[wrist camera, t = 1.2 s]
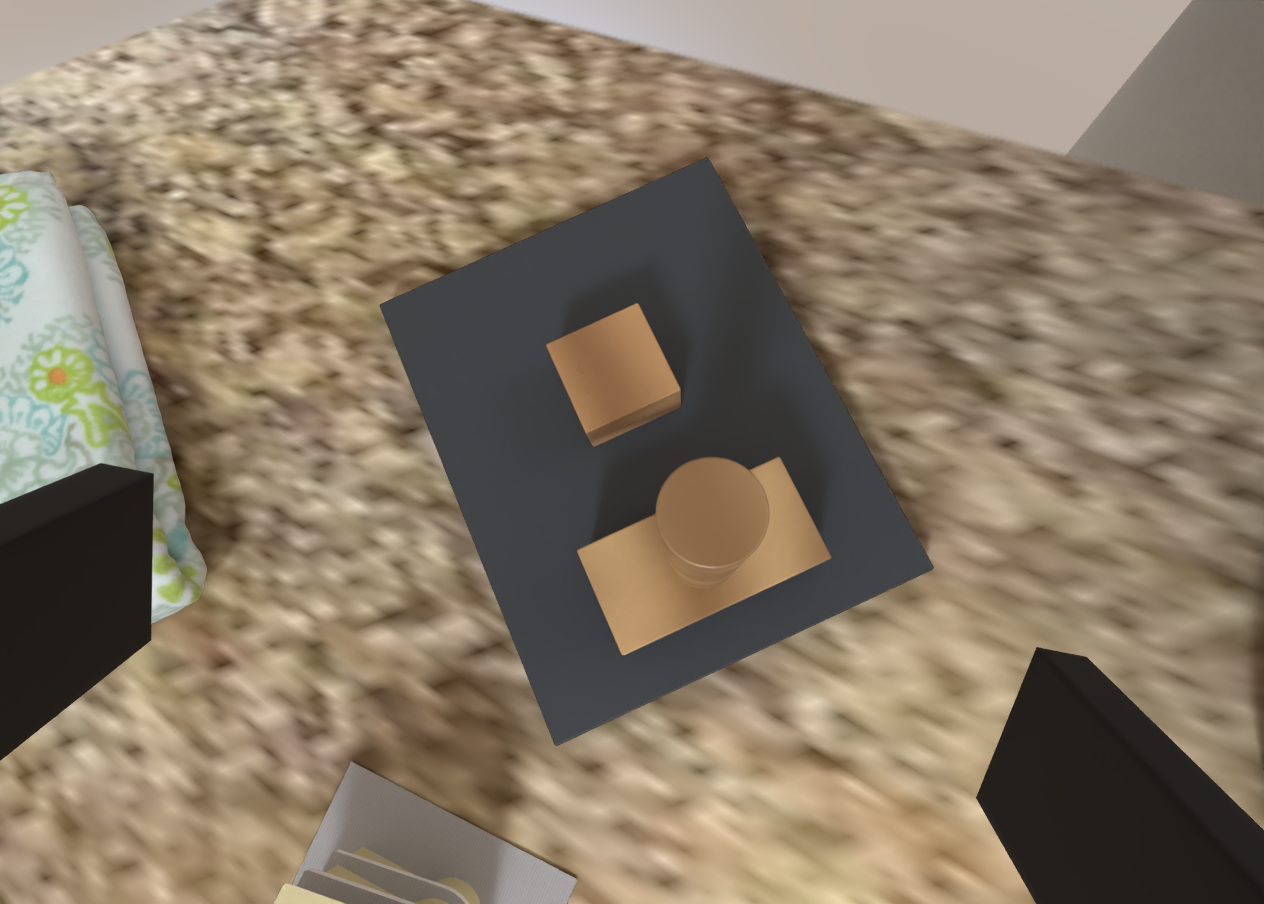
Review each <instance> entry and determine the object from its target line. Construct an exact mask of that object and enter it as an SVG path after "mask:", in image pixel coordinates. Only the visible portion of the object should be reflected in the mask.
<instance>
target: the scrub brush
mask: <svg viewBox="0 0 1264 904" xmlns="http://www.w3.org/2000/svg"><path fill="white" fill-rule="evenodd" d="M577 553H578V555H579V557H580V560H581V562H582V564H583V567H584V569H585V571H586V574H587V576H588V578H589V581H590V583H591V585H592V587H593V590H594V592H595V594H596V597H597V599H598V601H599V604H600V606H601V608H602V611H603V613H604V615H605V618H606V620H607V622H608V624H609V627H610V629H611V631H612V634H613V636H614V638H615V641H616V643H617V645H618V648H619V650H620V652H621V654H622V655H626V654H628V653H630V652H633V651H635V650H637V649H639V648H641V647H643V646H645V645H648V644H650V643H652V642H654V641H656V640H658V639H660V638H663V637H665V636H667V635H669V634H671V633H673V632H675V631H678V630H680V629H682V628H684V627H686V626H688V625H690V624H693V623H695V622H697V621H699V620H701V619H703V618H705V617H708V616H710V615H712V614H714V613H716V612H718V611H720V610H722V609H725V608H727V607H729V606H731V605H733V604H735V603H737V602H740V601H742V600H744V599H746V598H748V597H750V596H752V595H755V594H757V593H759V592H761V591H763V590H765V589H767V588H770V587H772V586H774V585H776V584H778V583H780V582H782V581H785V580H787V579H789V578H791V577H793V576H795V575H797V574H800V573H802V572H804V571H806V570H808V569H810V568H812V567H815V566H817V565H819V564H821V563H823V562H825V561H827V560H829V559H831V555H830V553H829V551H828V549H827V547H826V545H825V543H824V541H823V539H822V537H821V535H820V533H819V531H818V530H817V528H816V526H815V524H814V522H813V520H812V518H811V516H810V514H809V512H808V510H807V508H806V506H805V504H804V502H803V501H802V499H801V497H800V495H799V493H798V491H797V489H796V487H795V485H794V483H793V481H792V479H791V477H790V475H789V474H788V472H787V470H786V468H785V466H784V464H783V462H782V460H781V458H780V457H776V458H774V459H772V460H770V461H768V462H766V463H763V464H761V465H759V466H757V467H755V468H753V469H750V470H748V469H747V468H745V467H744V466H742V465H741V464H739V463H737V462H735V461H732V460H730V459H726V458H721V457H702V458H698V459H694V460H691V461H689V462H687V463H685V464H683V465H681V466H680V467H678V468H677V469H676V470H675V471H674V472H673V473H671V474H670V476H669V477H668V478H667V479H666V481H665V482H664V484H663V485H662V487H661V490H660V492H659V495H658V498H657V503H656V513H655V514H653V515H651V516H649V517H647V518H644V519H642V520H640V521H638V522H636V523H634V524H632V525H629V526H627V527H625V528H623V529H621V530H619V531H616V532H614V533H612V534H610V535H608V536H606V537H603V538H601V539H599V540H597V541H595V542H593V543H590V544H588V545H586V546H584V547H582V548H580V549H578V550H577Z"/></svg>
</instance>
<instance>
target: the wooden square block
mask: <svg viewBox="0 0 1264 904" xmlns="http://www.w3.org/2000/svg"><path fill="white" fill-rule="evenodd" d="M546 347H547V349H548V351H549V354H550V356H551V358H552V360H553V362H554V365H555V367H556V369H557V371H558V373H559V376H560V378H561V380H562V382H563V384H564V387H565V389H566V391H567V393H568V395H569V398H570V400H571V402H572V404H573V406H574V409H575V411H576V413H577V415H578V417H579V420H580V422H581V424H582V426H583V428H584V431H585V433H586V435H587V436H588V438H589V440H590V442H591V444H592V445H593V446H594V447H595V446H597V445H599V444H602V443H604V442H606V441H608V440H610V439H613V438H615V437H617V436H619V435H621V434H623V433H626V432H628V431H630V430H632V429H634V428H636V427H639V426H641V425H643V424H645V423H647V422H650V421H652V420H654V419H656V418H658V417H660V416H663V415H665V414H667V413H669V412H671V411H674V410H676V409H678V408H680V407H681V389H680V386H679V384H678V382H677V380H676V378H675V376H674V374H673V372H672V370H671V368H670V366H669V364H668V362H667V360H666V358H665V356H664V354H663V352H662V350H661V348H660V346H659V344H658V342H657V340H656V338H655V336H654V334H653V332H652V330H651V328H650V326H649V324H648V322H647V320H646V318H645V316H644V314H643V312H642V310H641V308H640V306H639V304H638V303H636V304H634V305H632V306H630V307H627V308H625V309H623V310H621V311H619V312H616V313H614V314H612V315H610V316H608V317H605V318H603V319H601V320H599V321H597V322H594V323H592V324H590V325H588V326H586V327H583V328H581V329H579V330H577V331H575V332H572V333H570V334H568V335H566V336H564V337H561V338H559V339H557V340H555V341H553V342H550V343H548V344H547V345H546Z"/></svg>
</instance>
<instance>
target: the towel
mask: <svg viewBox="0 0 1264 904" xmlns="http://www.w3.org/2000/svg"><path fill="white" fill-rule="evenodd" d="M99 463H103V464H109V465H114V466H119V467H124V468H129V469H134V470H139V471H144V472H149V473H154V497H153V558H152V618H151V624H152V623H154V622H157V621H159V620H161V619H163V618H165V617H168V616H170V615H172V614H174V613H176V612H177V611H179V610H181V609H183V608H184V607H186V606H188V605H190V604H192V603H194V602H195V601H197V600H198V599H199V598H200V596H201V594H202V592H203V590H204V586H205V577H206V573H207V567H206V564H205V562H204V560H203V557H202V554H201V552H200V551H199V550H198V549H197V547H196V546H195V544H194V543H193V542H192V539H191V536H190V532H189V530H188V529H187V528H186V525H185V502H184V496H183V493H182V489H181V484H180V481H179V478H178V476H177V473H176V469H175V465H174V462H173V457H172V454H171V448H170V445H169V442H168V440H167V435H166V433H165V429H164V425H163V420H162V417H161V413H160V410H159V407H158V403H157V400H156V395H155V392H154V388H153V384H152V381H151V378H150V375H149V371H148V368H147V364H146V361H145V358H144V355H143V351H142V347H141V343H140V340H139V337H138V334H137V330H136V326H135V323H134V320H133V317H132V313H131V308H130V305H129V302H128V298H127V295H126V289H125V285H124V282H123V278H122V275H121V272H120V270H119V268H118V265H117V262H116V258H115V255H114V252H113V249H112V246H111V244H110V242H109V240H108V237H107V235H106V233H105V231H104V230H103V228H102V227H101V226H100V225H99V224H98V222H97V219H96V217H95V216H94V214H93V213H92V212H91V211H90V210H89V209H88V208H87V207H84V206H82V205H76V206H71V207H68V206H67V202H66V199H65V197H64V195H63V193H62V191H61V190H60V188H59V187H57V186H56V180H55V177H54V175H53V174H52V173H51V172H47V171H46V172H36V171H32V170H24V171H19V172H13V173H6V174H1V175H0V504H1V503H4V502H6V501H9V500H11V499H14V498H16V497H18V496H21V495H23V494H26V493H28V492H31V491H33V490H36V489H38V488H41V487H43V486H45V485H48V484H50V483H53V482H55V481H58V480H60V479H63V478H65V477H68V476H70V475H72V474H75V473H77V472H80V471H82V470H85V469H87V468H90V467H92V466H95V465H97V464H99Z"/></svg>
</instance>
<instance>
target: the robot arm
mask: <svg viewBox="0 0 1264 904" xmlns="http://www.w3.org/2000/svg"><path fill="white" fill-rule="evenodd" d="M153 497H154V473H149V472H144V471H139V470H134V469H129V468H124V467H119V466H114V465H109V464H103V463H99V464H97V465H95V466H92V467H90V468H87V469H85V470H82V471H80V472H77V473H75V474H72V475H70V476H68V477H65V478H63V479H60V480H58V481H55V482H53V483H50V484H48V485H45V486H43V487H41V488H38V489H36V490H33V491H31V492H28V493H26V494H23V495H21V496H18V497H16V498H14V499H11V500H9V501H6V502H4V503H1V504H0V760H2V759H3V758H4V757H5V756H7V755H8V754H9V753H10V752H12V751H13V750H14V749H15V748H17V747H18V746H19V745H20V744H22V743H23V742H24V741H25V740H27V739H28V738H29V737H30V736H32V735H33V734H34V733H35V732H37V731H38V730H39V729H41V728H42V727H43V726H44V725H46V724H47V723H48V722H49V721H51V720H52V719H53V718H54V717H56V716H57V715H58V714H59V713H61V712H62V711H63V710H64V709H66V708H67V707H68V706H69V705H71V704H72V703H73V702H74V701H76V700H77V699H78V698H79V697H81V696H82V695H83V694H84V693H86V692H87V691H88V690H89V689H91V688H92V687H93V686H94V685H96V684H97V683H98V682H99V681H101V680H102V679H103V678H104V677H106V676H107V675H108V674H109V673H111V672H112V671H113V670H114V669H116V668H117V667H118V666H119V665H121V664H122V663H123V662H124V661H126V660H127V659H128V658H129V657H131V656H132V655H133V654H134V653H136V652H137V651H138V650H139V649H141V648H142V647H143V646H144V645H146V644H147V643H148V642H149V641H151V618H152V558H153ZM976 799H977V800H978V802H979V804H980V806H981V807H982V809H983V811H984V813H985V814H986V816H987V818H988V820H989V822H990V823H991V825H992V827H993V829H994V830H995V832H996V834H997V836H998V837H999V839H1000V841H1001V843H1002V844H1003V846H1004V848H1005V850H1006V851H1007V853H1008V855H1009V857H1010V858H1011V860H1012V862H1013V864H1014V865H1015V867H1016V869H1017V871H1018V872H1019V874H1020V876H1021V878H1022V879H1023V881H1024V883H1025V885H1026V887H1027V888H1028V890H1029V892H1030V894H1031V895H1032V897H1033V899H1034V901H1035V902H1036V904H1264V830H1263V829H1262V828H1261V827H1260V826H1259V825H1258V824H1257V823H1256V822H1255V821H1254V820H1253V819H1252V818H1251V817H1250V816H1249V815H1248V814H1247V813H1246V812H1244V811H1243V810H1242V809H1241V808H1240V807H1239V806H1238V805H1237V804H1236V803H1235V802H1234V801H1233V800H1232V799H1231V798H1230V797H1229V796H1228V795H1227V794H1226V793H1225V792H1224V791H1223V790H1222V789H1221V788H1220V787H1219V786H1218V785H1217V784H1216V783H1215V782H1214V781H1213V780H1212V779H1211V778H1210V777H1209V776H1208V775H1207V774H1206V773H1205V772H1204V771H1203V770H1202V769H1201V768H1200V767H1198V766H1197V765H1196V764H1195V763H1194V762H1193V761H1192V760H1191V759H1190V758H1189V757H1188V756H1187V755H1186V754H1185V753H1184V752H1183V751H1182V750H1181V749H1180V748H1179V747H1178V746H1177V745H1176V744H1175V743H1174V742H1173V741H1172V740H1171V739H1170V738H1169V737H1168V736H1167V735H1166V734H1165V733H1164V732H1163V731H1162V730H1161V729H1160V728H1159V727H1158V726H1157V725H1156V724H1155V723H1153V722H1152V721H1151V720H1150V719H1149V718H1148V717H1147V716H1146V715H1145V714H1144V713H1143V712H1142V711H1141V710H1140V709H1139V708H1138V707H1137V706H1136V705H1135V704H1134V703H1133V702H1132V701H1131V700H1130V699H1129V698H1128V697H1127V696H1126V695H1125V694H1124V693H1123V692H1122V691H1121V690H1120V689H1119V688H1118V687H1117V686H1116V685H1115V684H1114V683H1113V682H1112V681H1111V680H1110V679H1109V678H1107V677H1106V676H1105V675H1104V674H1103V673H1102V672H1101V671H1100V670H1099V669H1098V668H1097V667H1096V666H1095V665H1094V664H1093V663H1092V662H1091V661H1090V660H1089V659H1088V658H1087V657H1084V656H1079V655H1073V654H1068V653H1063V652H1058V651H1053V650H1048V649H1043V648H1038V647H1037V648H1036V650H1035V653H1034V655H1033V658H1032V660H1031V663H1030V665H1029V668H1028V670H1027V673H1026V675H1025V678H1024V680H1023V683H1022V685H1021V688H1020V690H1019V693H1018V695H1017V698H1016V700H1015V702H1014V705H1013V707H1012V710H1011V712H1010V715H1009V717H1008V720H1007V722H1006V725H1005V727H1004V730H1003V732H1002V735H1001V737H1000V740H999V742H998V745H997V747H996V750H995V752H994V755H993V757H992V760H991V762H990V765H989V767H988V770H987V772H986V775H985V777H984V780H983V782H982V784H981V787H980V789H979V792H978V794H977V797H976Z"/></svg>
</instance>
